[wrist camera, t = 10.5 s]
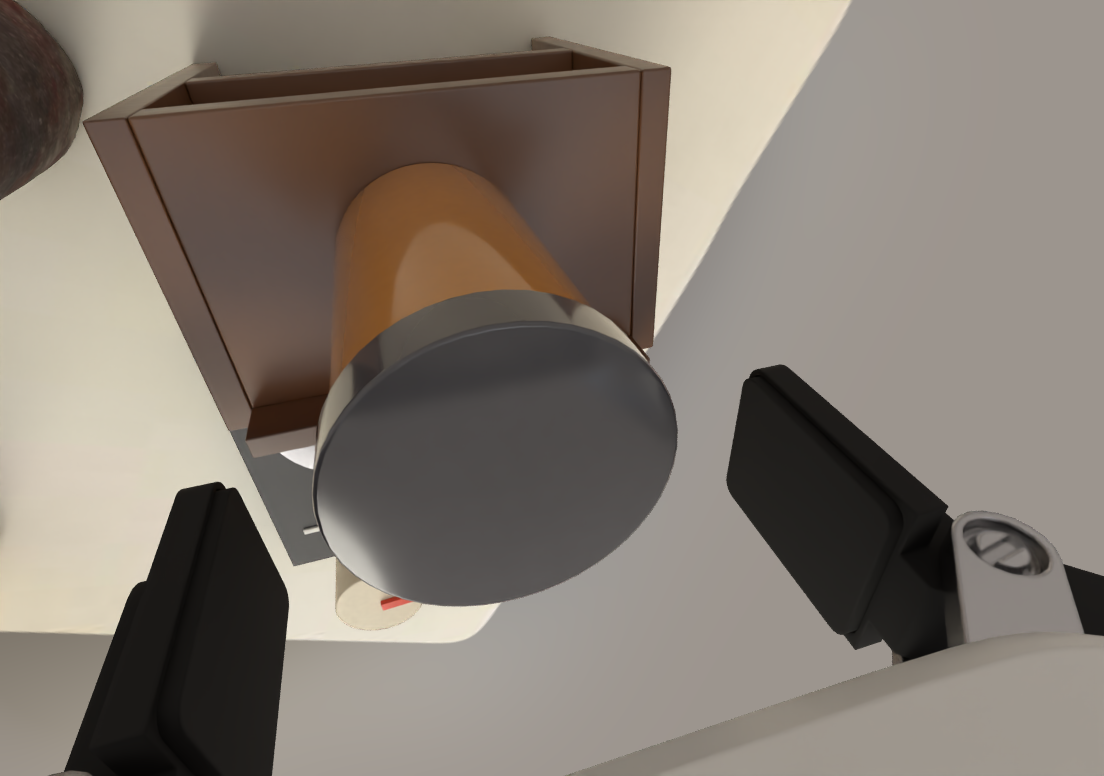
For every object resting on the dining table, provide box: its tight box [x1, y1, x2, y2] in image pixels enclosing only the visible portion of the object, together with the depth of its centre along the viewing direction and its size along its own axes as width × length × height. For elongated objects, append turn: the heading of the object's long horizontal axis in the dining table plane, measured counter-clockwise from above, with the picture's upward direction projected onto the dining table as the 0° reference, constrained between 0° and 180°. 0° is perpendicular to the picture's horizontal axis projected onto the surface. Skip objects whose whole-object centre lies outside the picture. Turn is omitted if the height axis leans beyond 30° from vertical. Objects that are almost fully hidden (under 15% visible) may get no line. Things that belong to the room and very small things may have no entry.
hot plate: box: [230, 428, 335, 566], centre depth 37 cm, size 18×12×3 cm
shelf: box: [83, 37, 671, 458], centre depth 23 cm, size 10×16×15 cm, turn 93°
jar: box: [312, 163, 678, 606], centre depth 15 cm, size 7×7×11 cm
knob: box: [335, 558, 422, 630], centre depth 35 cm, size 5×5×7 cm
